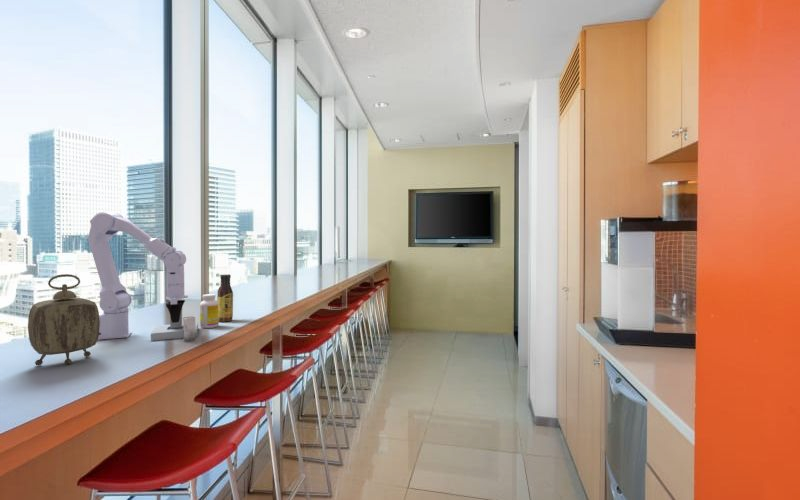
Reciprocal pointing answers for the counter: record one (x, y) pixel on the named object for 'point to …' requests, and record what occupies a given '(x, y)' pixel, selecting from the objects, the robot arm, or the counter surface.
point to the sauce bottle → (225, 299)
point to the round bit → (189, 329)
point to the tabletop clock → (63, 323)
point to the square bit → (176, 323)
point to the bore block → (169, 332)
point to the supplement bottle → (209, 311)
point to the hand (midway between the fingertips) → (175, 321)
